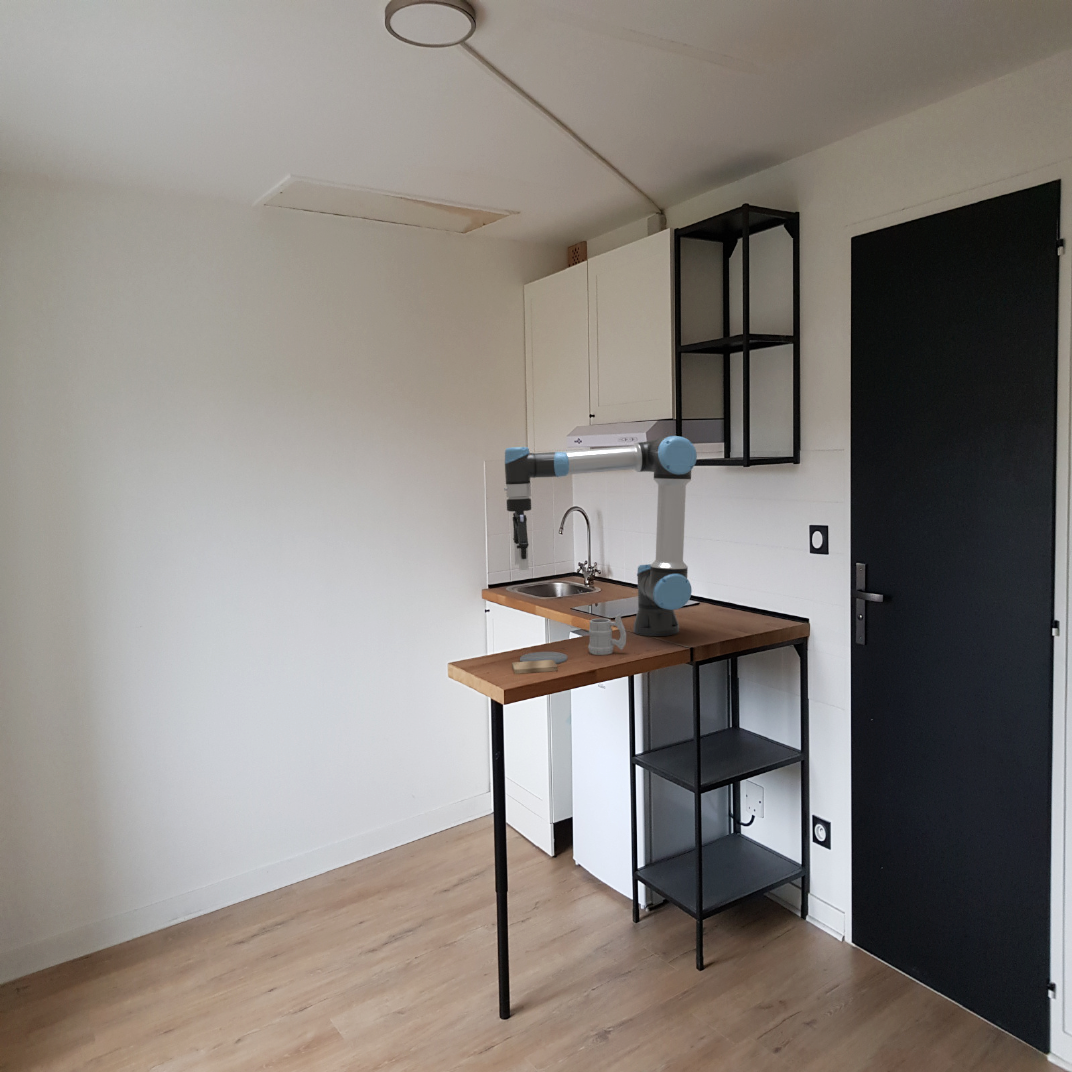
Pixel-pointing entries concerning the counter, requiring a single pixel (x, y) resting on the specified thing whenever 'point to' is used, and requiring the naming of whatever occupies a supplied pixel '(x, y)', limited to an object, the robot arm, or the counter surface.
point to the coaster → (544, 657)
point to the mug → (605, 636)
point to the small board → (534, 666)
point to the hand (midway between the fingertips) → (521, 567)
